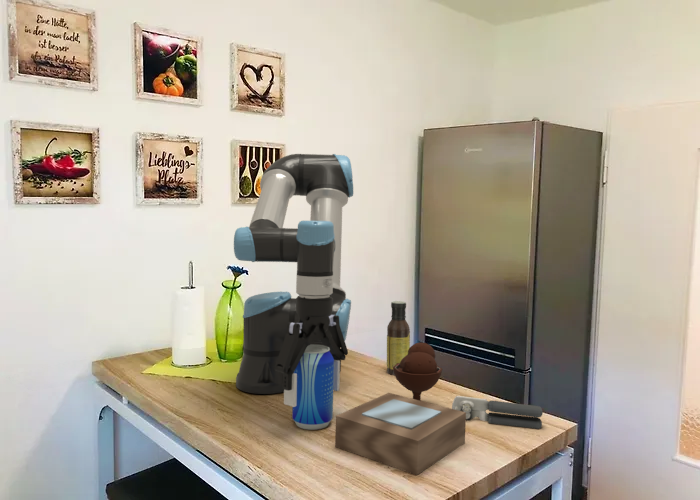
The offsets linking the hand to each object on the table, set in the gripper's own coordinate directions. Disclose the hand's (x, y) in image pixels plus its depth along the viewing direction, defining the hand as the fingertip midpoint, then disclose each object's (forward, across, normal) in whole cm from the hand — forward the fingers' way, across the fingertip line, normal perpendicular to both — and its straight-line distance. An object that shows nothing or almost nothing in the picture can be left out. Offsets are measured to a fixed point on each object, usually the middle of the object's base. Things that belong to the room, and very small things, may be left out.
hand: (312, 397), depth 120 cm
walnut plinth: (+6, +3, -20) cm, 21 cm away
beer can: (+6, 0, 0) cm, 6 cm away
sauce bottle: (+5, +42, +6) cm, 43 cm away
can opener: (+6, +27, -28) cm, 40 cm away
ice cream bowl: (+6, +22, -12) cm, 26 cm away
